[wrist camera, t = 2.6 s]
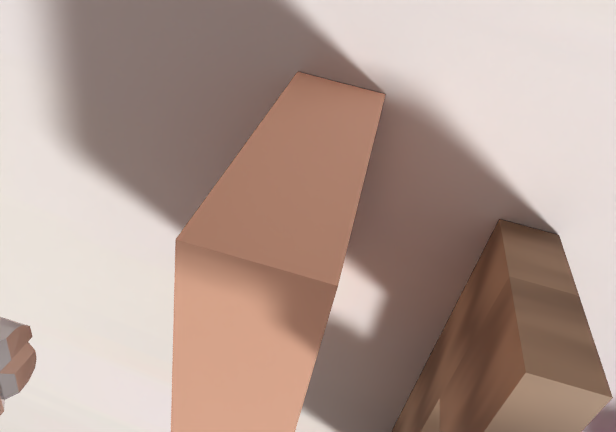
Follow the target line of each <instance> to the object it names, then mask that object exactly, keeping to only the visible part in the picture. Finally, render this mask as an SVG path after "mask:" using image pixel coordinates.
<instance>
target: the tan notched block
mask: <svg viewBox="0 0 616 432" xmlns="http://www.w3.org/2000/svg"><path fill="white" fill-rule="evenodd" d="M385 95H386V94H383V93H379V92H375V91H371V90H367V89H363V88H359V87H355V86H351V85H347V84H344V83H340V82H336V81H332V80H328V79H324V78H320V77H316V76H312V75H308V74H304V73H300V72H297V73H296V75H295V76H294V77H293V79H292V80H291V81H290V83H289V84H288V86H287V87H286V88H285V90H284V91H283V92H282V94H281V95H280V97H279V98H278V99H277V101H276V102H275V103H274V105H273V106H272V108H271V109H270V110H269V112H268V113H267V114H266V116H265V117H264V119H263V120H262V121H261V123H260V124H259V125H258V127H257V128H256V130H255V131H254V132H253V134H252V135H251V136H250V138H249V139H248V141H247V142H246V143H245V145H244V146H243V147H242V149H241V150H240V152H239V153H238V154H237V156H236V157H235V158H234V160H233V161H232V163H231V164H230V165H229V167H228V168H227V169H226V171H225V172H224V174H223V175H222V176H221V178H220V179H219V181H218V182H217V183H216V185H215V186H214V187H213V189H212V190H211V192H210V193H209V194H208V196H207V197H206V198H205V200H204V201H203V203H202V204H201V205H200V207H199V208H198V209H197V211H196V212H195V214H194V215H193V216H192V218H191V219H190V220H189V222H188V223H187V225H186V226H185V227H184V229H183V230H182V231H181V233H180V234H179V236H178V237H177V238H176V246H175V287H174V327H173V368H172V409H171V432H295V429H296V426H297V422H298V419H299V416H300V412H301V409H302V406H303V402H304V399H305V395H306V392H307V389H308V385H309V382H310V378H311V375H312V372H313V368H314V365H315V362H316V358H317V355H318V351H319V348H320V345H321V341H322V338H323V335H324V331H325V328H326V324H327V321H328V318H329V314H330V311H331V307H332V304H333V301H334V297H335V294H336V291H337V287H338V283H339V279H340V275H341V271H342V267H343V263H344V259H345V255H346V251H347V247H348V243H349V239H350V235H351V231H352V227H353V223H354V219H355V215H356V211H357V207H358V203H359V199H360V195H361V191H362V187H363V183H364V179H365V175H366V171H367V167H368V163H369V159H370V155H371V151H372V147H373V143H374V139H375V135H376V131H377V127H378V123H379V119H380V115H381V111H382V107H383V103H384V99H385Z"/></svg>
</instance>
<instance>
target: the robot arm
mask: <svg viewBox="0 0 616 432" xmlns="http://www.w3.org/2000/svg"><path fill="white" fill-rule="evenodd" d="M31 338H32V333H31V329H30V326H28V325H25V324H22V323H19V322H15V321H12V320H9V319H6V318H3V317H0V415H1V414H2V413H3V412H4V405H5V399H7V398H9V397H11V396H13V395H16V394H18V393H19V392H20V391H21V390H22V389H23V387H24V386H25V385H26V384H27V382H28V381H29V379H30V377H31V375H32V373H33V371H34V369H35V364H36V353H35V350H34V349H33V347H32V346H31V345H30V344H29V343H28V341H29V340H30V339H31Z"/></svg>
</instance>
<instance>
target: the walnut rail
mask: <svg viewBox="0 0 616 432" xmlns="http://www.w3.org/2000/svg"><path fill="white" fill-rule="evenodd" d="M612 398H613V397H612V394H611V391H610V388H609V385H608V382H607V379H606V376H605V373H604V370H603V367H602V364H601V361H600V358H599V355H598V352H597V349H596V346H595V343H594V340H593V337H592V334H591V331H590V328H589V325H588V322H587V319H586V316H585V312H584V309H583V306H582V303H581V300H580V297H579V294H578V291H577V288H576V285H575V282H574V279H573V276H572V273H571V270H570V267H569V264H568V261H567V258H566V255H565V252H564V249H563V246H562V243H561V240H560V237H559V235H557V234H553V233H549V232H546V231H542V230H538V229H534V228H531V227H527V226H523V225H520V224H516V223H512V222H508V221H505V220H501V219H499V221H498V223H497V225H496V227H495V229H494V231H493V233H492V235H491V237H490V239H489V241H488V243H487V245H486V247H485V249H484V250H483V252H482V254H481V256H480V258H479V260H478V262H477V264H476V266H475V268H474V270H473V272H472V274H471V276H470V278H469V280H468V282H467V284H466V286H465V288H464V290H463V292H462V294H461V296H460V298H459V300H458V302H457V304H456V306H455V308H454V310H453V312H452V313H451V315H450V317H449V319H448V321H447V323H446V325H445V327H444V329H443V331H442V333H441V335H440V337H439V339H438V341H437V343H436V345H435V347H434V349H433V351H432V353H431V355H430V357H429V359H428V361H427V363H426V365H425V367H424V369H423V371H422V373H421V375H420V377H419V378H418V380H417V382H416V384H415V386H414V388H413V390H412V392H411V394H410V396H409V398H408V400H407V402H406V404H405V406H404V408H403V410H402V412H401V414H400V416H399V418H398V420H397V422H396V424H395V426H394V428H393V430H392V432H582V430H583V429H584V428H585V427H586V426H587V425H588V424H589V423H590V422H591V421H592V420H593V419H594V417H595V416H596V415H597V414H598V413H599V412H600V411H601V410H602V409H603V408H604V407H605V406H606V404H607V403H608V402H609V401H610V400H611V399H612Z"/></svg>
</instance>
